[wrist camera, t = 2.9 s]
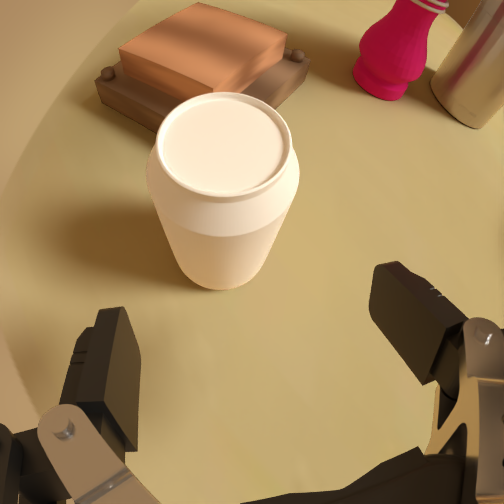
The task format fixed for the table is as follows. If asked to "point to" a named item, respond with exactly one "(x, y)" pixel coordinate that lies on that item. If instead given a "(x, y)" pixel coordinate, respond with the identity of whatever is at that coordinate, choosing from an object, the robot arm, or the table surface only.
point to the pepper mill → (396, 48)
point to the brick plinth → (163, 104)
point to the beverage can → (222, 185)
